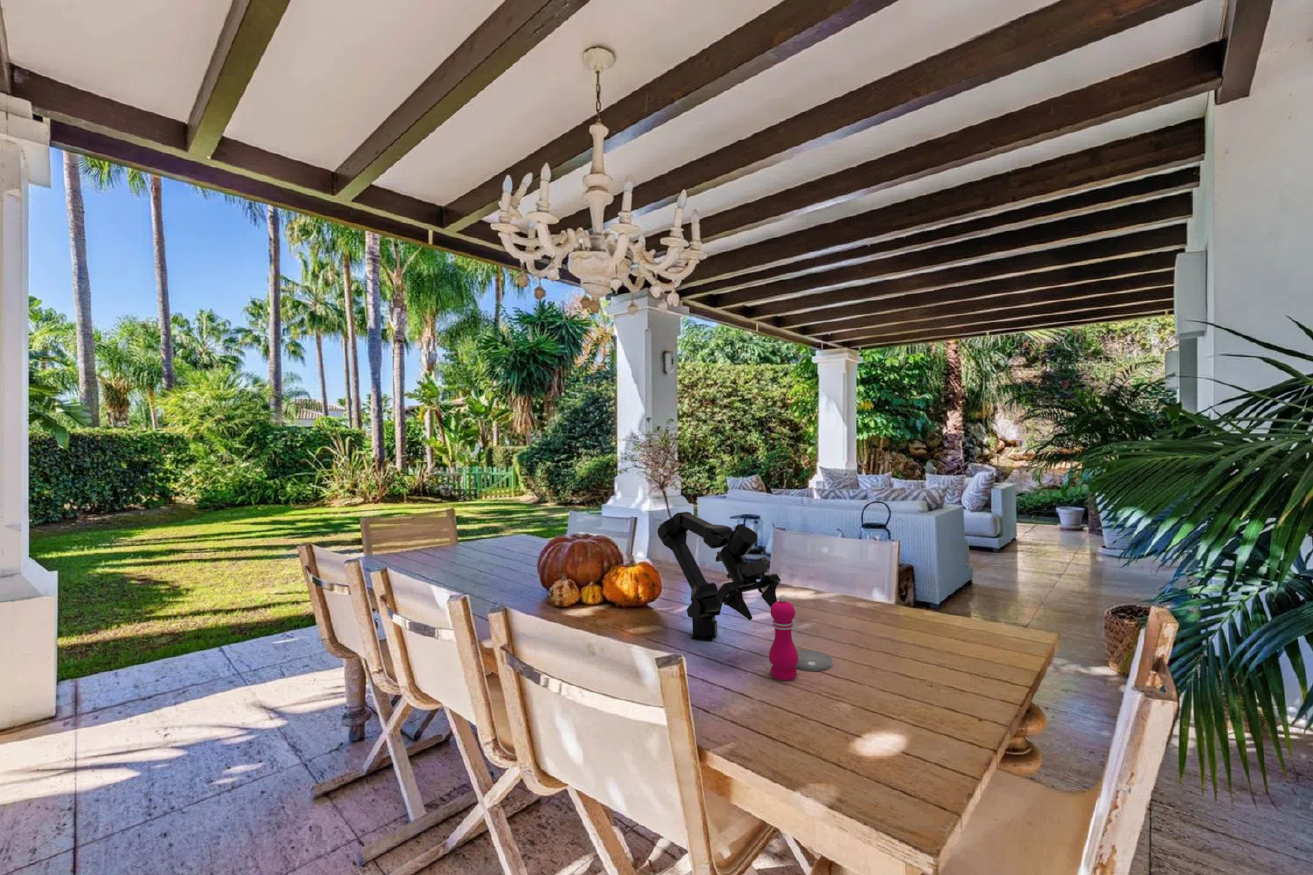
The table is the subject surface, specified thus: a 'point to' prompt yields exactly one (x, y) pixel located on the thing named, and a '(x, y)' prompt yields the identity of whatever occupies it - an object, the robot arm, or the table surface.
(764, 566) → the robot arm
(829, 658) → the slate coaster
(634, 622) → the table surface
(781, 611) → the pepper mill
